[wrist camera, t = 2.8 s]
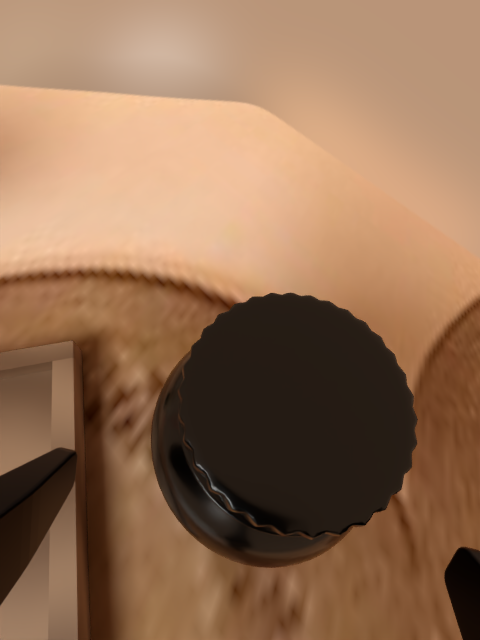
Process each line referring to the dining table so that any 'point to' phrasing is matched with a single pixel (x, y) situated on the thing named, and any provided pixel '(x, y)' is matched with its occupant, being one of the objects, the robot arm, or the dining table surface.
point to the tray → (71, 522)
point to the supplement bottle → (282, 430)
